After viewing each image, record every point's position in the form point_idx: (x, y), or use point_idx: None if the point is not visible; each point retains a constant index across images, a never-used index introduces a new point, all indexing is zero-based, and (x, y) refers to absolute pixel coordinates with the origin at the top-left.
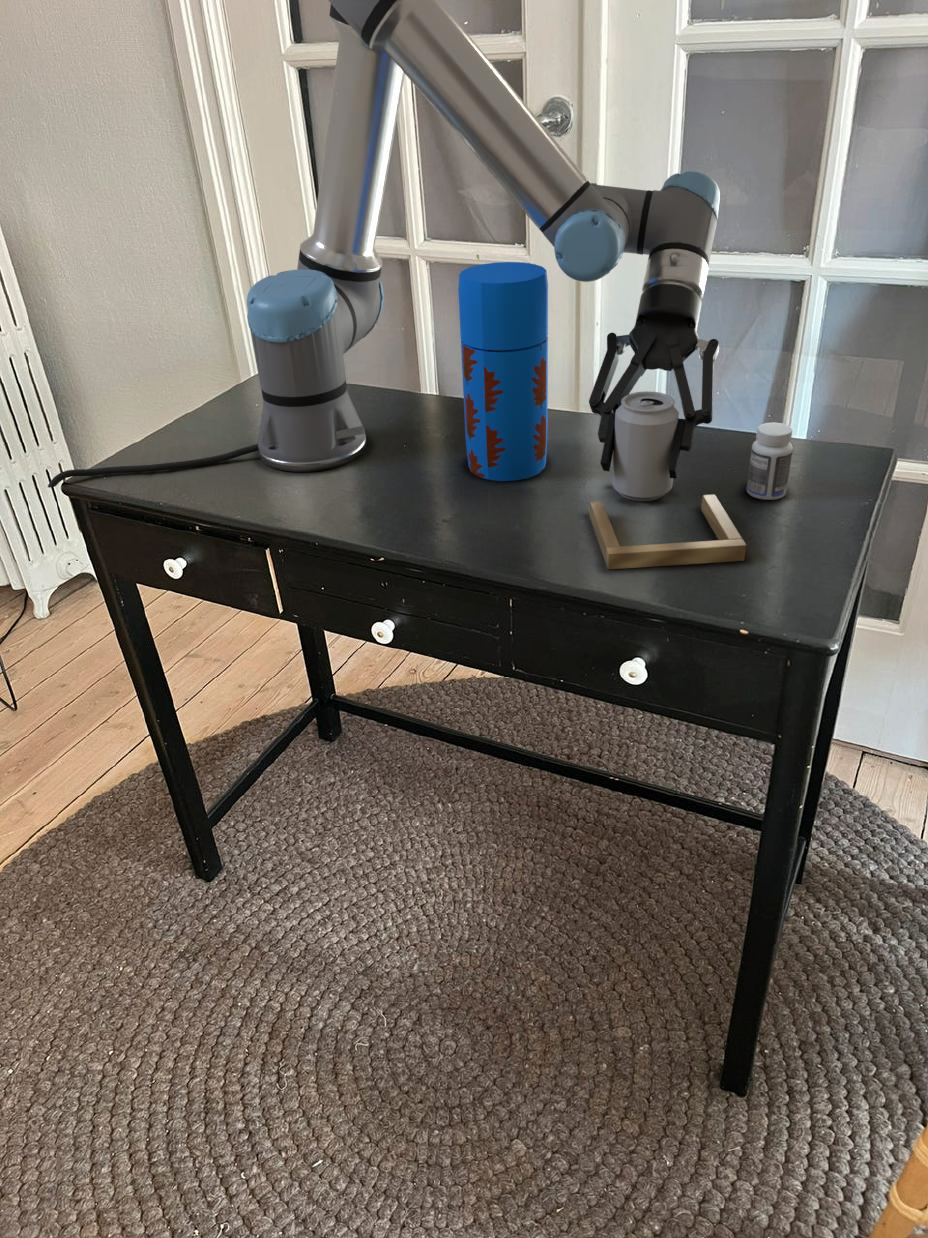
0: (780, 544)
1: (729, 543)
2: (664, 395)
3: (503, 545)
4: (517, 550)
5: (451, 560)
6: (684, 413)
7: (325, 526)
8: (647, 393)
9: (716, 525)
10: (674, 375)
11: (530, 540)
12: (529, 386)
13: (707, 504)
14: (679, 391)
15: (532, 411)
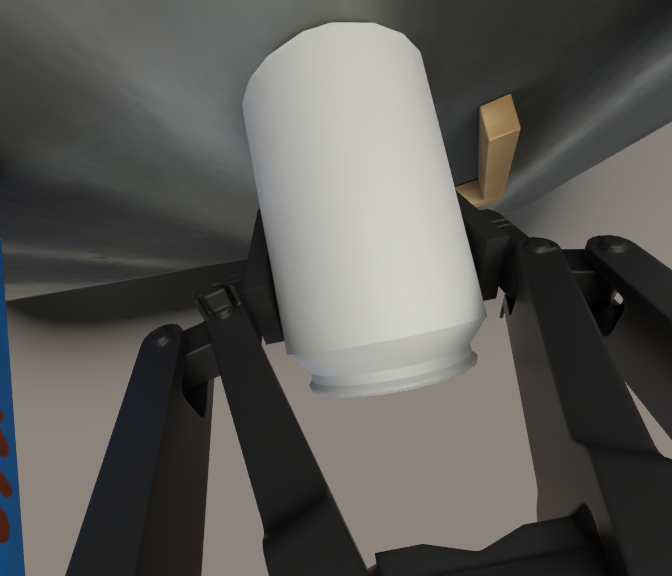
0: (575, 136)
1: (481, 204)
2: (451, 372)
3: (217, 248)
4: (238, 246)
5: (195, 266)
6: (506, 303)
7: (14, 293)
8: (385, 385)
9: (482, 172)
10: (572, 469)
11: (236, 237)
12: (16, 461)
13: (486, 157)
14: (518, 379)
15: (4, 373)
